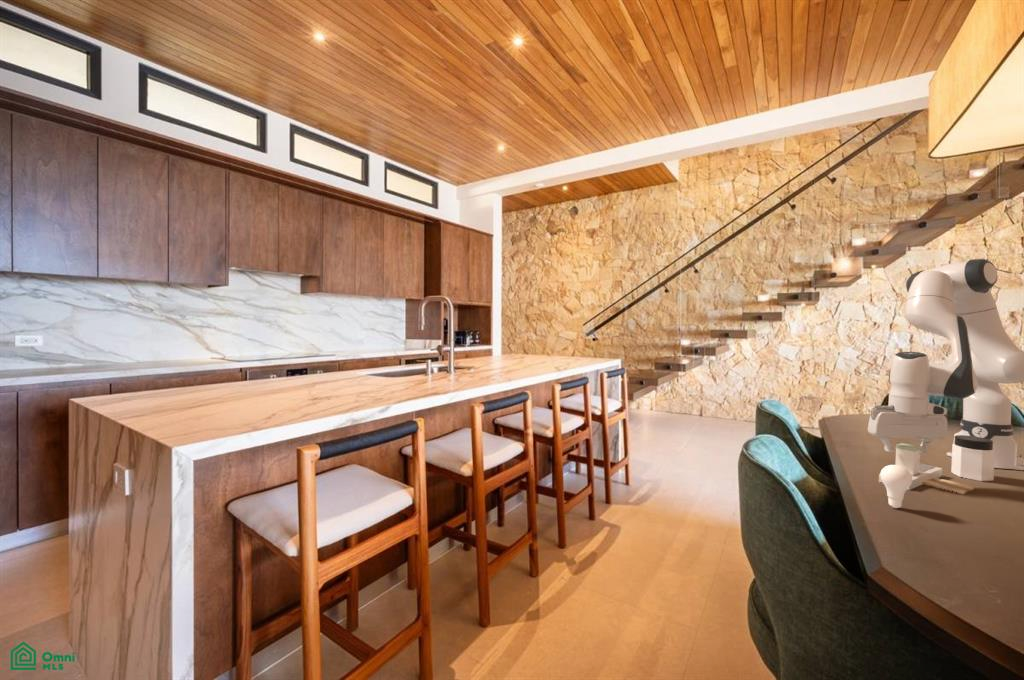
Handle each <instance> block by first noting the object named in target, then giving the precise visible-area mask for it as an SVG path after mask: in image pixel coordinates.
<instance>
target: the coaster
mask: <svg viewBox="0 0 1024 680" xmlns="http://www.w3.org/2000/svg"><path fill="white" fill-rule="evenodd" d="M922 485H925V486H928V487H931V486H932V487H933V488H936V489H940V488H941V490H944V489H945V490H944V491H948V490H949V491H948V492H952V491H953V493H956V492H957V494H959V495H960V494H961V495H965V494H968V493H969V492H971V491H973V490H975V489H976V486H973V485H969V484H965V483H961V482H956V481H952V480H949V479H943V478H941V477H939V478H936V477H935V478H932V479H930V480H927V481H925V482H923V484H922Z"/></svg>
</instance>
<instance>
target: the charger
mask: <svg viewBox="0 0 1024 680" xmlns="http://www.w3.org/2000/svg"><path fill="white" fill-rule="evenodd" d="M920 458H921V453H920V445H915V444H909V443H904V442H901V443H898V444H895V464H894V465H898V466H902V467H904V468H905V469H907V470H908V471H909V472H910V474H911V475H915V474H918V473H919V465H920V464H921V462H920V460H921V459H920Z"/></svg>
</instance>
